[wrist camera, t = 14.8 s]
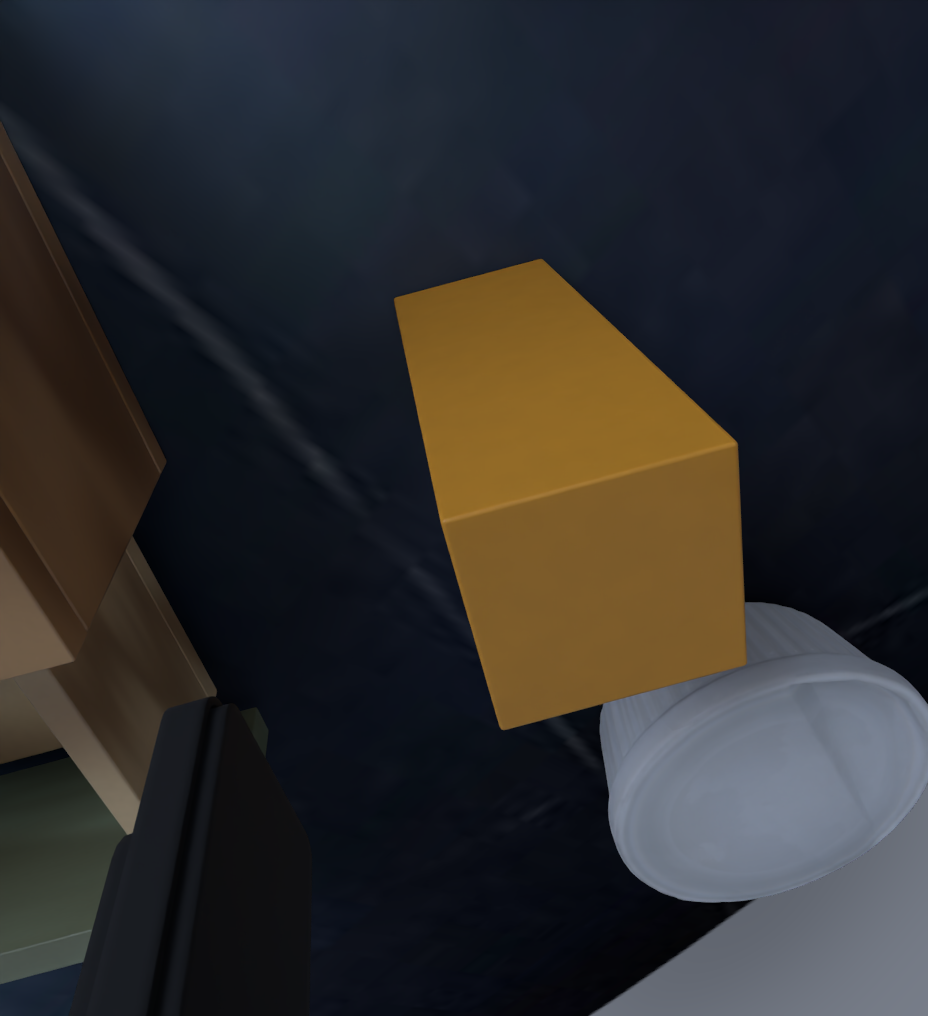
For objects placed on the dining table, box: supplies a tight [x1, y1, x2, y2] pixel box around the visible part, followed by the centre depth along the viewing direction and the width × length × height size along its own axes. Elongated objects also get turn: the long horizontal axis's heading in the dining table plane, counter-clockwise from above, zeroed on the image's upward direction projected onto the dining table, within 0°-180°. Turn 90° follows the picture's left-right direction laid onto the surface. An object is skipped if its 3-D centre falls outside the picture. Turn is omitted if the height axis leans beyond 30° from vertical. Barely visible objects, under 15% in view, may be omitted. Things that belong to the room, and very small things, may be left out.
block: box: [394, 259, 747, 730], centre depth 16 cm, size 4×4×12 cm
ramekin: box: [600, 602, 928, 902], centre depth 28 cm, size 11×11×5 cm
